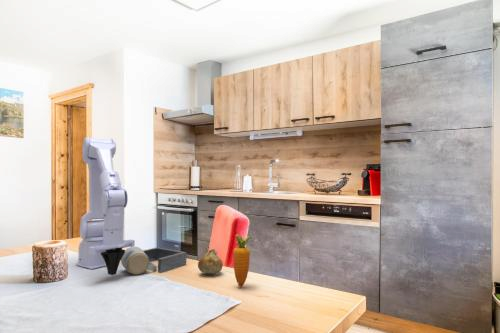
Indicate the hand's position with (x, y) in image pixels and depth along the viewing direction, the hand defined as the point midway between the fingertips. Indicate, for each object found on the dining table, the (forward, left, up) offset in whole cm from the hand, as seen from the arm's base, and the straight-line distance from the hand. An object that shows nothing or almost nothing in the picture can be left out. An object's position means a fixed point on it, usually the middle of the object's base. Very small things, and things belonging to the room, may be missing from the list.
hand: (112, 274), depth 101 cm
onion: (+21, +21, -2) cm, 30 cm away
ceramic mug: (0, +10, -2) cm, 10 cm away
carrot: (+36, +16, -2) cm, 40 cm away
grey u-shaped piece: (0, +19, -1) cm, 19 cm away
